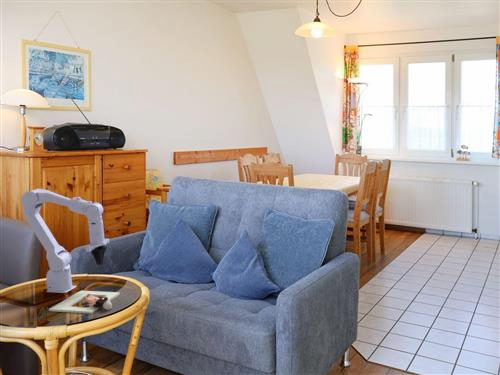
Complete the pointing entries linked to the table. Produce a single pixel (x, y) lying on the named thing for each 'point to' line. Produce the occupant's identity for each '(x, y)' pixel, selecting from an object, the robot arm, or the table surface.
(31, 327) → the table surface
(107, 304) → the grandmother figurine
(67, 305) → the pale rectangular frame
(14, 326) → the table surface
